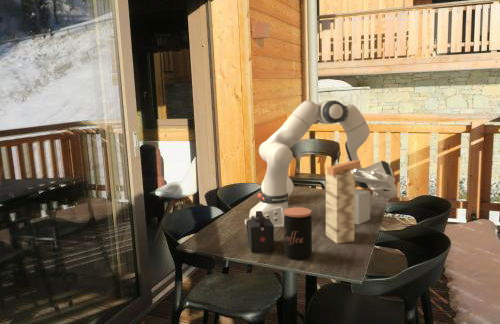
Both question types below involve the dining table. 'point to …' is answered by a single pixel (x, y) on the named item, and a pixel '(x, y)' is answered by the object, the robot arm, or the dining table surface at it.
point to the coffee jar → (297, 233)
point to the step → (361, 206)
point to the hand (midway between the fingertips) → (363, 171)
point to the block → (343, 167)
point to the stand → (340, 206)
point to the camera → (260, 233)
